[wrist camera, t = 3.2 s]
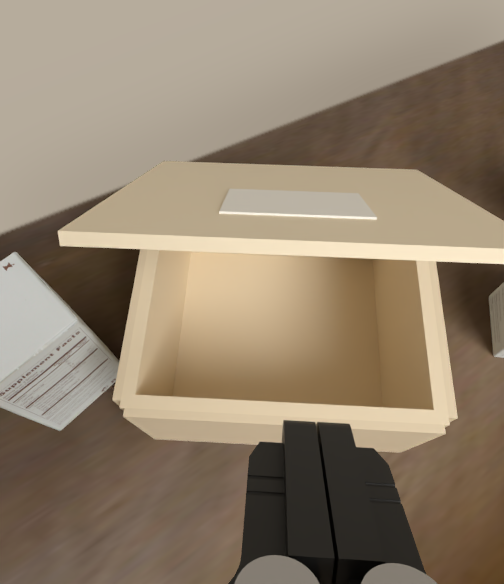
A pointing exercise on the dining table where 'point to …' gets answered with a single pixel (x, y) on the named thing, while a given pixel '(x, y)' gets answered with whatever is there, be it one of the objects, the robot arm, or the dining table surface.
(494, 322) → the skincare box
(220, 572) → the dining table surface
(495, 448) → the dining table surface
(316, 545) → the robot arm
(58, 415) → the supplement box
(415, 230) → the top flap
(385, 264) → the carton
